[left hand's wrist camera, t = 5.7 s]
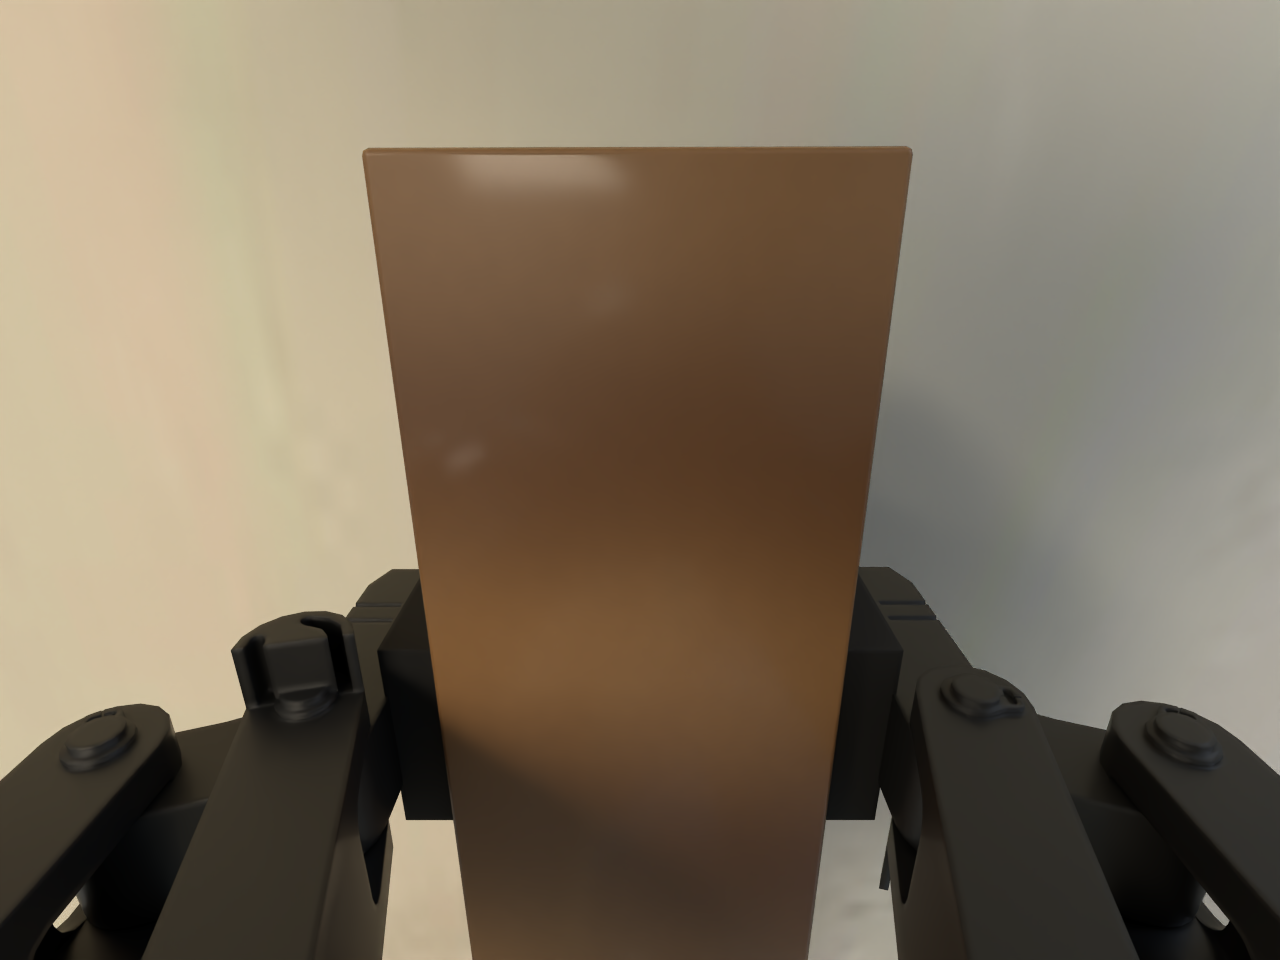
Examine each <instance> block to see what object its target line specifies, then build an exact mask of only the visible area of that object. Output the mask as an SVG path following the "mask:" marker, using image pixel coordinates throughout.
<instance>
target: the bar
mask: <svg viewBox="0 0 1280 960" xmlns="http://www.w3.org/2000/svg"><path fill="white" fill-rule="evenodd" d="M912 156H913V154H912V149H911V148H909V147H906V146H852V147H518V148H367V149H365V150H364V151H363V155H362V158H363V165H364V173H365V180H366V187H367V194H368V202H369V209H370V216H371V224H372V231H373V238H374V245H375V253H376V260H377V267H378V275H379V282H380V289H381V296H382V304H383V311H384V318H385V326H386V333H387V340H388V347H389V355H390V362H391V369H392V377H393V384H394V391H395V398H396V406H397V413H398V420H399V428H400V435H401V442H402V449H403V457H404V464H405V471H406V479H407V486H408V493H409V500H410V508H411V515H412V522H413V529H414V537H415V544H416V551H417V559H418V566H419V573H420V580H421V588H422V595H423V602H424V610H425V617H426V624H427V631H428V639H429V646H430V653H431V661H432V668H433V675H434V682H435V690H436V697H437V704H438V712H439V719H440V726H441V733H442V741H443V748H444V755H445V763H446V770H447V777H448V784H449V792H450V799H451V806H452V814H453V821H454V828H455V835H456V843H457V850H458V857H459V865H460V872H461V879H462V886H463V894H464V901H465V908H466V916H467V923H468V930H469V937H470V945H471V952H472V959H473V960H808V952H809V945H810V937H811V929H812V922H813V914H814V906H815V899H816V891H817V883H818V876H819V868H820V860H821V853H822V845H823V837H824V830H825V822H826V814H827V807H828V799H829V791H830V784H831V776H832V768H833V761H834V753H835V745H836V738H837V730H838V722H839V715H840V707H841V699H842V692H843V684H844V676H845V669H846V661H847V654H848V646H849V638H850V631H851V623H852V615H853V608H854V600H855V592H856V585H857V577H858V569H859V562H860V554H861V546H862V539H863V531H864V523H865V516H866V508H867V500H868V493H869V485H870V477H871V470H872V462H873V454H874V447H875V439H876V431H877V424H878V416H879V408H880V401H881V393H882V385H883V378H884V370H885V362H886V355H887V347H888V339H889V332H890V324H891V317H892V309H893V301H894V294H895V286H896V278H897V271H898V263H899V255H900V248H901V240H902V232H903V225H904V217H905V209H906V202H907V194H908V186H909V179H910V171H911V163H912Z"/></svg>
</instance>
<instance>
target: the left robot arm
mask: <svg viewBox="0 0 1280 960" xmlns="http://www.w3.org/2000/svg"><path fill="white" fill-rule="evenodd" d="M231 653H232V657H233V660H234V664H235V668H236V671H237V675H238V679H239V683H240V686H241V690H242V694H243V698H244V701H245V705H246V710H245V713H244V715H243V717H242V718H239V719H235V720H232V721H228V722H224V723H219V724H215V725H210V726H205V727H200V728H196V729H191V730H186V731H182V732H177V733H175V731H174V728H173V725H172V722H171V719H170V716H169V714H168V713H166V712H165V711H164V710H163V709H161V708H160V707H159V706H152V705H146V704H134V705H125V706H117V707H113V708H109V709H105V710H104V711H99V712H96V713H93V714H90V715H88V716H86V717H84V718H82V719H80V720H78V721H76V722H74V723H72V724H70V725H68V726H66V727H64V728H62V729H61V730H60V731H58V732H57V733H56V734H54V735H53V736H51V737H50V738H49V739H47V740H46V741H45V742H43V743H42V744H41V745H39V746H38V747H37V748H36V749H35V750H34V751H33V752H32V753H31V754H29V755H28V756H27V757H26V758H25V759H24V760H23V761H22V762H21V763H20V764H18V765H17V766H16V767H15V768H14V769H13V770H12V771H11V772H10V773H8V774H7V775H6V776H5V777H4V778H3V779H2V780H1V781H0V960H382V954H383V944H384V934H385V924H386V914H387V904H388V894H389V884H390V874H391V864H392V854H393V842H392V836H391V830H390V824H389V817H390V815H391V812H392V810H393V808H394V805H395V803H396V800H397V798H398V795H399V793H400V790H401V794H402V799H403V805H404V811H405V817H406V820H453V814H452V806H451V799H450V792H449V784H448V777H447V770H446V763H445V755H444V748H443V741H442V733H441V726H440V719H439V712H438V704H437V697H436V690H435V682H434V675H433V668H432V661H431V653H430V646H429V639H428V631H427V624H426V617H425V610H424V602H423V595H422V588H421V580H420V573H419V569H392V570H390V571H389V572H387V573H386V574H385V575H383V576H382V577H380V578H379V579H377V580H376V581H374V582H373V583H371V584H370V585H369V586H368V587H367V588H366V590H365V591H364V593H363V594H362V595H361V597H360V598H359V600H358V601H357V602H356V607H353V608H352V609H351V611H350V612H349V614H348V615H347V617H346V618H345V617H344V616H343V615H340V614H336V613H331V612H327V611H314V612H301V613H297V614H292V615H287V616H282V617H280V618H277V619H275V620H272V621H270V622H267V623H265V624H262V625H260V626H258V627H257V628H255V629H254V630H252V631H251V632H249V633H248V634H246V635H244V636H243V637H242V638H241V639H240V640H239V641H238V642H237V644H236V645H235V646H234V647H233V648H232V650H231ZM880 788H881V790H882V793H883V795H884V798H885V800H886V803H887V805H888V808H889V810H890V812H891V815H892V819H891V824H890V830H889V835H888V841H887V846H886V851H885V857H884V862H883V868H882V873H881V879H880V886H879V889H884V890H888V888H889V883H890V882H891V892H892V902H893V912H894V922H895V932H896V942H897V952H898V960H1280V776H1279V775H1278V774H1277V773H1276V772H1275V771H1274V770H1273V769H1272V768H1270V767H1269V766H1268V765H1267V764H1266V763H1265V762H1264V761H1263V760H1262V759H1260V758H1259V757H1258V756H1257V755H1256V754H1255V753H1254V752H1253V751H1252V750H1250V749H1249V748H1248V747H1247V746H1246V745H1245V744H1244V743H1243V742H1242V741H1240V740H1239V739H1238V738H1236V737H1235V736H1233V735H1232V734H1231V733H1229V732H1228V731H1226V730H1225V729H1224V728H1222V727H1221V726H1219V725H1218V724H1216V723H1214V722H1212V721H1210V720H1208V719H1206V718H1203V717H1201V716H1199V715H1197V714H1196V713H1194V712H1192V711H1189V710H1186V709H1183V708H1178V707H1176V706H1172V705H1168V704H1164V703H1155V702H1147V701H1137V702H1130V703H1124V704H1122V705H1120V706H1119V707H1118V708H1117V709H1115V710H1114V711H1113V712H1112V715H1111V718H1110V721H1109V724H1108V727H1107V730H1103V729H1099V728H1094V727H1089V726H1084V725H1080V724H1075V723H1070V722H1065V721H1061V720H1056V719H1052V718H1049V717H1045V716H1041V715H1038V714H1036V712H1035V709H1034V707H1033V706H1032V704H1031V703H1030V702H1029V700H1028V699H1027V697H1026V696H1025V695H1024V693H1023V692H1021V691H1020V690H1019V689H1017V688H1016V687H1015V686H1013V685H1012V684H1011V683H1009V682H1008V681H1007V680H1005V679H1002V678H1000V677H998V676H996V675H994V674H991V673H989V672H987V671H984V670H980V669H976V668H973V667H972V666H971V664H970V663H969V662H968V660H967V659H966V657H965V656H964V655H963V653H962V652H961V650H960V649H959V648H958V646H957V645H956V643H955V642H954V641H953V639H952V638H951V636H950V635H949V634H948V632H947V631H946V629H945V628H944V627H943V625H942V624H941V622H940V621H939V620H936V615H935V614H934V613H933V611H932V610H931V608H930V607H929V606H928V605H925V600H924V599H923V597H922V596H921V594H920V593H919V592H918V590H917V589H916V587H915V586H914V585H913V583H912V582H910V581H909V580H907V579H906V578H904V577H903V576H901V575H900V574H898V573H897V572H895V571H894V570H892V569H891V568H889V567H859V569H858V577H857V585H856V592H855V600H854V608H853V615H852V623H851V631H850V638H849V646H848V654H847V661H846V669H845V676H844V684H843V692H842V699H841V707H840V715H839V722H838V730H837V738H836V745H835V753H834V761H833V768H832V776H831V784H830V791H829V799H828V807H827V814H826V820H875V814H876V808H877V803H878V797H879V791H880ZM1206 892H1207V893H1208V895H1209V896H1210V897H1211V898H1212V900H1213V901H1214V902H1215V903H1216V904H1217V906H1218V907H1219V908H1220V909H1221V911H1222V912H1223V913H1224V914H1225V915H1226V917H1227V918H1228V919H1229V920H1230V921H1229V923H1228V925H1227V926H1224V925H1223V924H1222V923H1221V922H1220V921H1219V920H1218V919H1217V918H1216V917H1215V916H1214V915H1213V914H1212V913H1211V912H1210V911H1209V909H1208V908H1207V907H1206V906H1205V904H1204V903H1203V902H1202V900H1203V898H1204V896H1205V894H1206ZM75 896H77V899H78V901H79V903H80V904H79V905H78V907H77V908H76V909H75V910H74V912H73V913H72V914H71V915H70V917H69V918H68V919H67V920H66V921H64V922H63V923H62V924H61V925H60V926H59V927H58V928H57V929H56V928H55V927H54V926H53V923H54V921H55V920H56V919H57V918H58V917H59V915H60V914H61V913H62V912H63V910H64V909H65V908H66V907H67V905H68V904H69V903H70V902H71V901H72V899H73V898H74V897H75Z"/></svg>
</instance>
